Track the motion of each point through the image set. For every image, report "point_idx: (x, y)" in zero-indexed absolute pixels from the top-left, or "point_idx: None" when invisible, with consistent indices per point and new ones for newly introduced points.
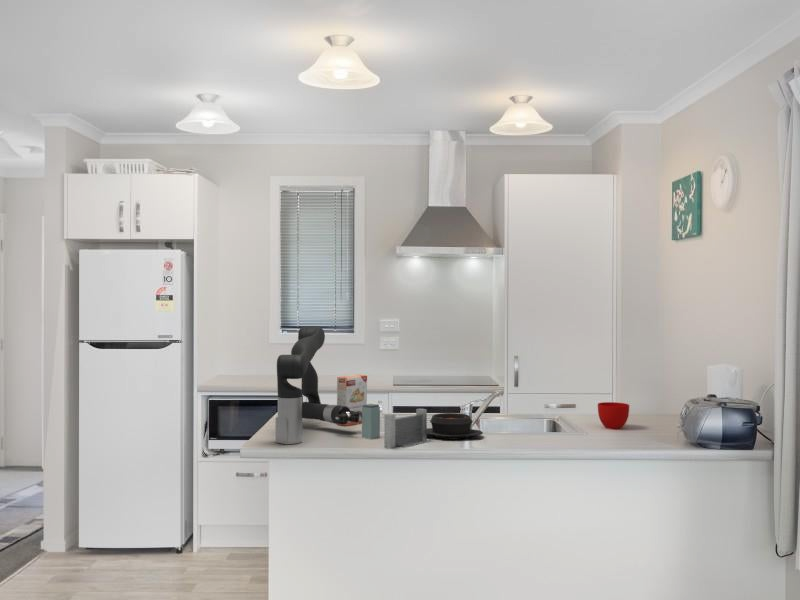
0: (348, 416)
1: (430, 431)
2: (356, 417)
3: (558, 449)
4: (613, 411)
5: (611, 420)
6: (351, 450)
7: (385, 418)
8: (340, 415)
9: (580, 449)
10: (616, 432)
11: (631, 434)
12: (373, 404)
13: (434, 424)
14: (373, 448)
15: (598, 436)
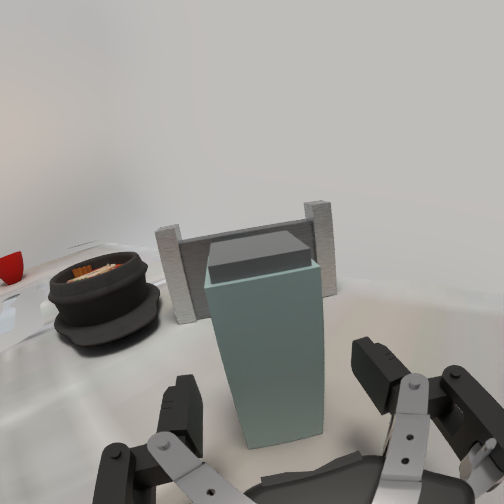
0: (423, 380)
1: (123, 318)
2: (369, 342)
3: (143, 252)
4: (21, 257)
5: (22, 268)
6: (428, 287)
7: (329, 212)
8: (491, 407)
9: (134, 250)
10: (37, 273)
11: (46, 268)
12: (225, 249)
13: (136, 282)
14: (369, 292)
15: (59, 269)
